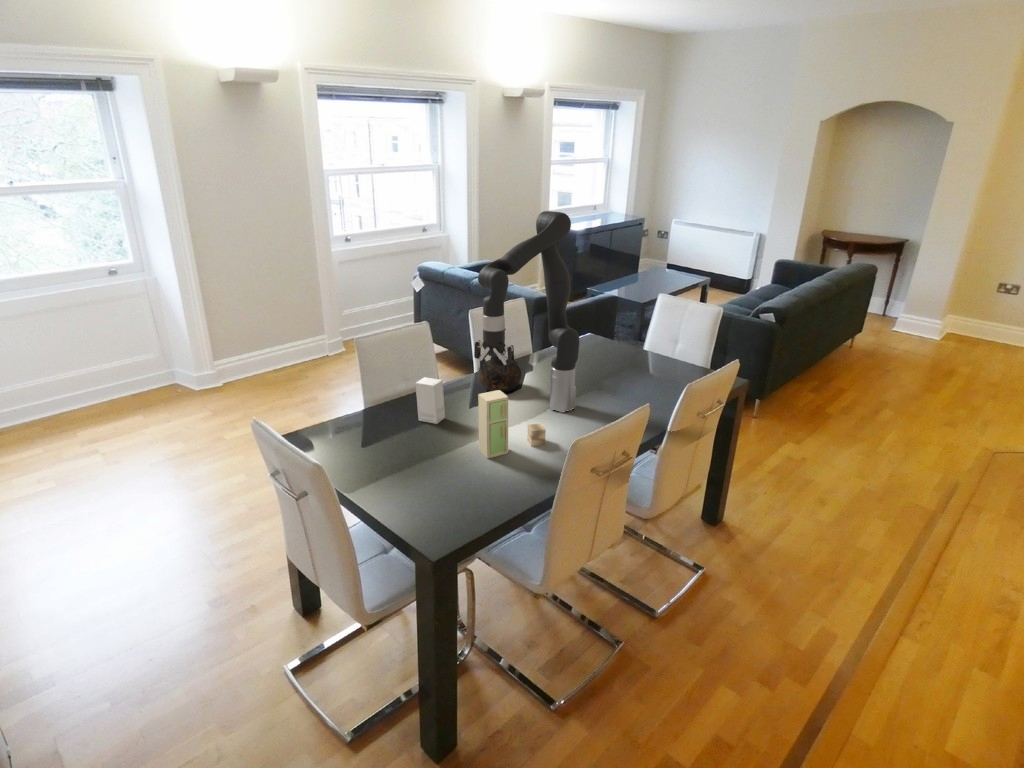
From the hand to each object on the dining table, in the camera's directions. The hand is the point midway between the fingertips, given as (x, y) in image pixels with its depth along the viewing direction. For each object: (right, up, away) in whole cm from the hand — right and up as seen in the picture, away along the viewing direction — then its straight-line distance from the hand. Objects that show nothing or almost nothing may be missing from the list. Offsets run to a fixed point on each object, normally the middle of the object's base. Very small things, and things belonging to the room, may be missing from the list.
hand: (494, 372), depth 216 cm
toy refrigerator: (0, -28, -7) cm, 28 cm away
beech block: (+14, -25, +1) cm, 29 cm away
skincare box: (-24, -18, +17) cm, 34 cm away
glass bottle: (+1, -6, +46) cm, 47 cm away
